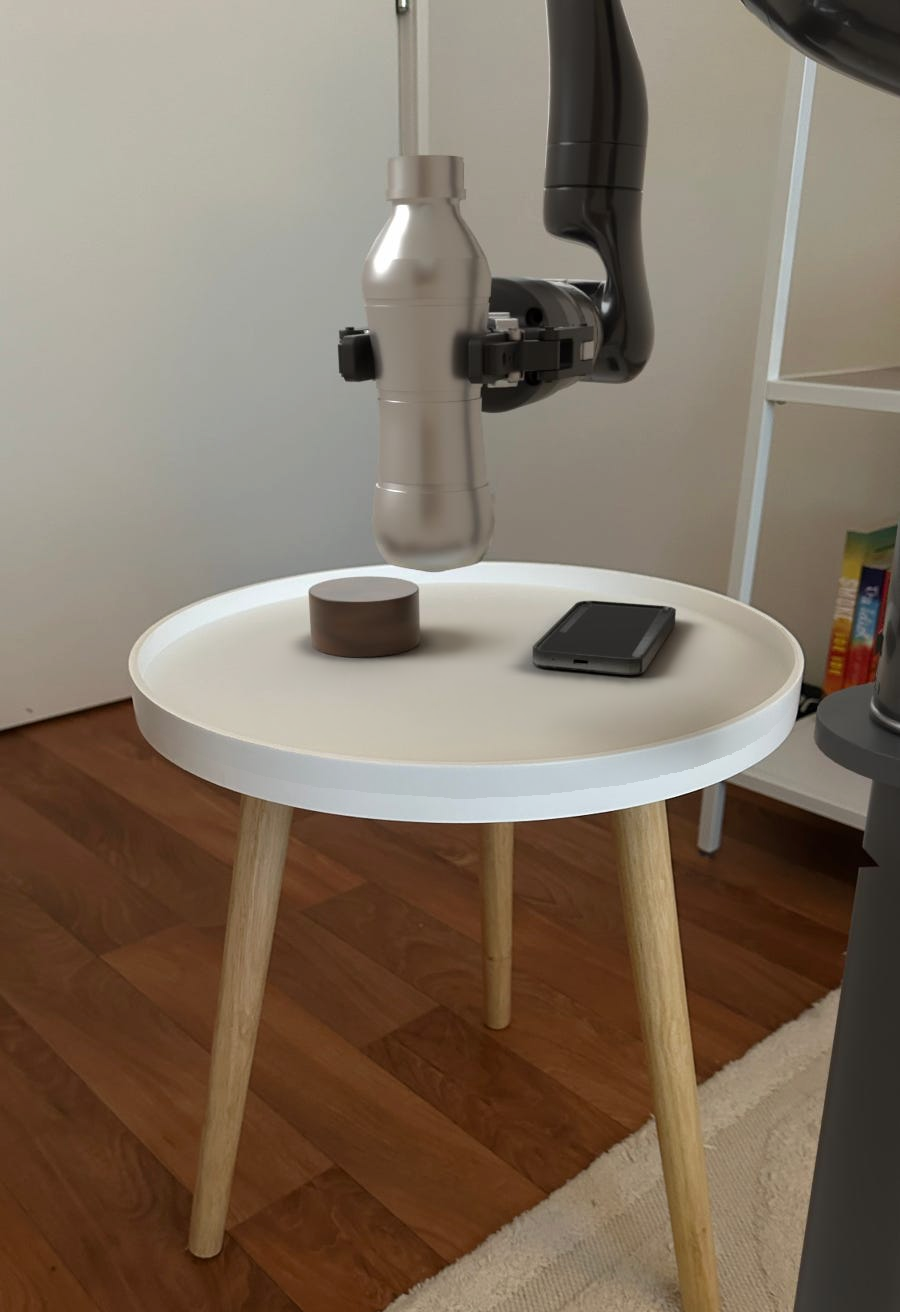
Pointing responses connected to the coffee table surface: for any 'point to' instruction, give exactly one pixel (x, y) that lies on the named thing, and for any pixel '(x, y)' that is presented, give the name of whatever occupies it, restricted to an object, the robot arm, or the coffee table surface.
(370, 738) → the coffee table surface
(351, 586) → the cylinder
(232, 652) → the coffee table surface
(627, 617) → the phone
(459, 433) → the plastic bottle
